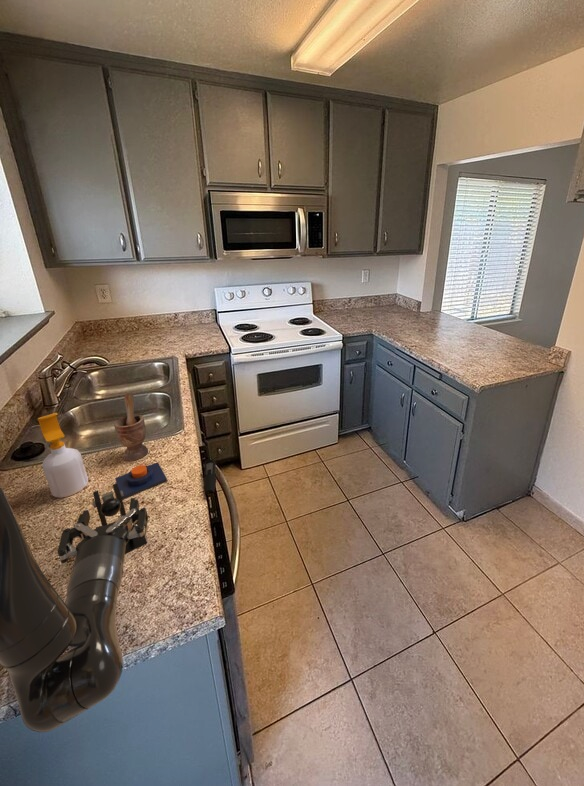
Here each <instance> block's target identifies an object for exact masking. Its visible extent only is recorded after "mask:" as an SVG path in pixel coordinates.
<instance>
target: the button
mask: <svg viewBox="0 0 584 786" xmlns="http://www.w3.org/2000/svg"><path fill="white" fill-rule="evenodd" d="M146 466H147V465H144V464H140V465H137V466H135V467H133V468H132V469H131V470H132V471H131V470H130V471H131V473H132V477H133V478H135V479H136V478H141V477H143V476H145V475H146V474H147V468H146Z"/></svg>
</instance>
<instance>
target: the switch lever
mask: <svg viewBox="0 0 584 786" xmlns="http://www.w3.org/2000/svg"><path fill="white" fill-rule="evenodd" d="M100 497H101V500H102V505H101V513H102V514H103V515H104V516H105V517H107V518H110V517H114V516H115V515H117V514H118V513H120V511H119V510H120V507H121V503H120V501H119V500H118V499H116V497H115V495H114V491H113V490H112V491H108V492H106V493H103V494H101V496H100Z"/></svg>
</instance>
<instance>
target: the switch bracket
mask: <svg viewBox="0 0 584 786" xmlns="http://www.w3.org/2000/svg"><path fill="white" fill-rule="evenodd" d="M112 488H113V489H112V490H113V493H114V497H115V498H116V499H118V500H119V501H120V503H121V507H120V510H119V515H120V517H121V516H125V515H126V514H127V512H126V508H125V504H124V499H123V500H122V497H123V496H124V495H123V492H122V490H121V491H120V490H119V487H118V484H117V483H116V482H115V483H114V484H112ZM92 494H93V499H94V501H92V505H93V508H94V509H95V508H96V510H97V514H98V517H99V520H100V524H101V526H105V525H108V524H109V523H108V521H107V518H106V517H107V516H104V515H103V514H102V513H101V505H102V504H103V502H102V501H101V500H102V499H101V496H100V493H99V490H95V491H93V492H92ZM131 519H132V518H130V520H131ZM115 522H116V521H114V522H112V523H115ZM135 524H137V522H136V523H135ZM135 524H134V525H135ZM134 525H133V526H132V529H131V531H132V530H133V528H134ZM121 526H122V527H123V525H121ZM147 544H148V541H147V538H146V537H145V538H144V539H143V540H139V539H138V537H136V538H132V539H129V541H128V542H127V544H126V549H125V555H127V554H129V553H131V552H133V551H136V550H137V549H139V548H141V547H144V546H145V545H147Z"/></svg>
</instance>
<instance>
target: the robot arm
mask: <svg viewBox="0 0 584 786" xmlns="http://www.w3.org/2000/svg"><path fill="white" fill-rule="evenodd" d="M8 499H9V498H8V497H7V495H6V494H5V491H4V489H3V487H2V485H1V484H0V665H1V666H2V667H3V668H4V669H5V670H6V671H7V673H8V675H9V679H10V681H11V685H12V688H13V691H14V695H15V697H16V700H17V704H18V710H19V712H20V717H21V720H22V722H23V724H24V726H25V727H26V728H28V729H29V730H31V731H33V732H36V733H47V732H50V731H53V730H55V729H58V728H59V727H60V726H62V725H64V724H65V723H68V722H69V721H71V720H73V719H74V718H75V717H77V716H79V715H80V714H83V713H84V712H86V711H87V710H89V709H91V708H92V707H95V705H97V704H99V703H101V702H103V701H104V700H106V698H108V697H109V696H110V695H111V694H112V693H113V691H114V690H115V689H116V687H117V686H118V683H119V681H120V679H121V677H122V676H121V675H122V674H123V669H124V657H123V653H122V647H121V643H120V640H119V635H118V629H117V620H116V612H117V603H118V596H119V590H120V587H121V584H122V579H123V576H124V564H125V563H124V562H125V557H126V554H125V549H126V544H127V542H128V541H129V539H132V538H136V537H138V539H139V540H143V539H144V538H146V537H147V536H146V535H147V529H148V524H149V515H148V511H147V508H146V507H142V508H140V502H139V500H138V499H136V497H132V498H131V497H130V499H129V509H128V512H126V515H125V516H121V515H120V517H119V518H118V519H117V520H116V521H114V522H115V523H113V522H110V523H107V524H108V525H105V526H102V525H100V526H96V527H95V528H94V529H93V528H91V527H90V526H89V525H90V521H91V515H90V511H89V509H85V510H83V512H82V513H80V514H79V516H78V518H77V522H76V524H75V525H74V527H72V528H69V527H68V528H64V529H63V530H62V533H61V536H60V541H59V544H58V548H57V554H58V557H59V561H60V563H61V564H65V563H67V562H69V560H70V558H71V557H75V559H74V563H73V566H72V569H71V574H70V577H69V580H68V585H67V588H66V590H67V591H66V597H65V598H66V599H65V601H64V600H63V599H62V597H61V596H60V595H59V593H58V592H57V590H56V589H55V588H54V587H53V585H52V584H51V582H49V580H48V579H47V577H46V575H45V574H44V572H43V571H42V569H41V568H40V565H39V563H38V561H37V560H36V559H35V556H34V555H33V552H32V550H31V547H30V546H29V543H28V540H27V538H26V536H25V534H24V532H23V529H22V527H21V524H20V523H19V521H18V520H19V519H17V516H16V514H15V512H14V510H13V508H12V506H11V503H10V501H9V500H8ZM130 518H132V519H131V520H130ZM136 522H137V524H135V523H136ZM134 524H135V525H134ZM121 525H123V527H122V526H121ZM133 525H134V528H133V530H132V531H131V529H132V526H133ZM76 538H78V539H80V542H79V543H77V545H76V546H75V547H74V545H73V543H74V539H76ZM69 647H70V648H72V649H70V650H68V651H67V649H69Z"/></svg>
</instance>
